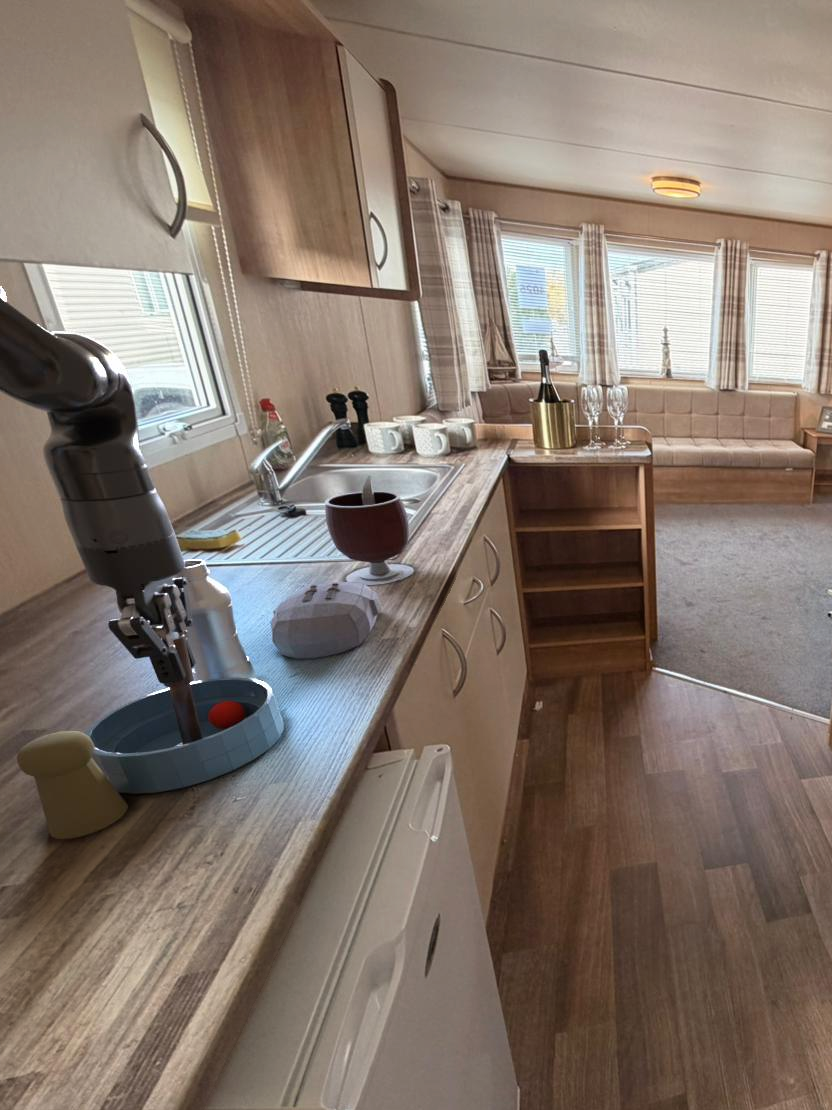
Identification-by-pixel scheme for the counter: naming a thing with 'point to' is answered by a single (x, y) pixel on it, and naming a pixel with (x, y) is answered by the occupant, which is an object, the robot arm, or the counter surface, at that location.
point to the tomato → (226, 714)
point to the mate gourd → (370, 532)
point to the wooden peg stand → (184, 696)
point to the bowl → (152, 733)
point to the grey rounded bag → (324, 619)
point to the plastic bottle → (213, 628)
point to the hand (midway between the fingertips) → (178, 674)
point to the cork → (71, 784)
